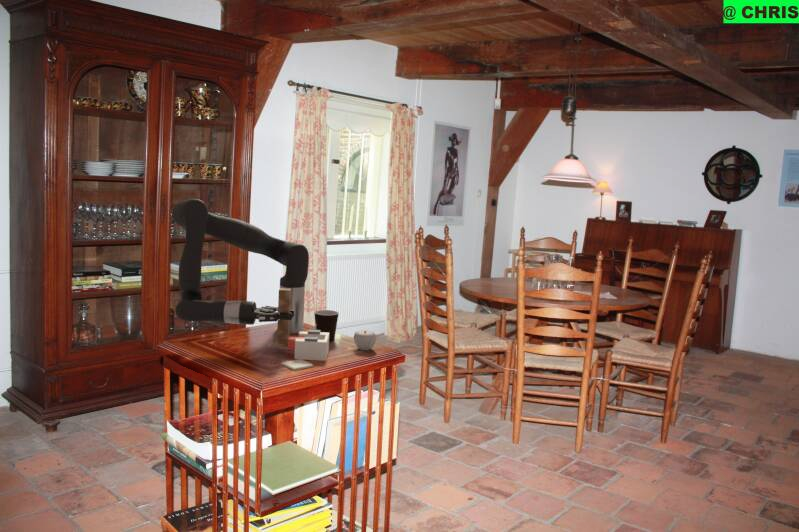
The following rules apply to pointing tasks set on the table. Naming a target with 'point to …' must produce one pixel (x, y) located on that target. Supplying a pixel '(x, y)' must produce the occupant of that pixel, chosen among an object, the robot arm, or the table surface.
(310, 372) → the table surface
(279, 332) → the walnut stick
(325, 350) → the box
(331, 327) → the coffee mug
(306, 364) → the coaster
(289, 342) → the plunger
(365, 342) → the lidded sugar bowl
